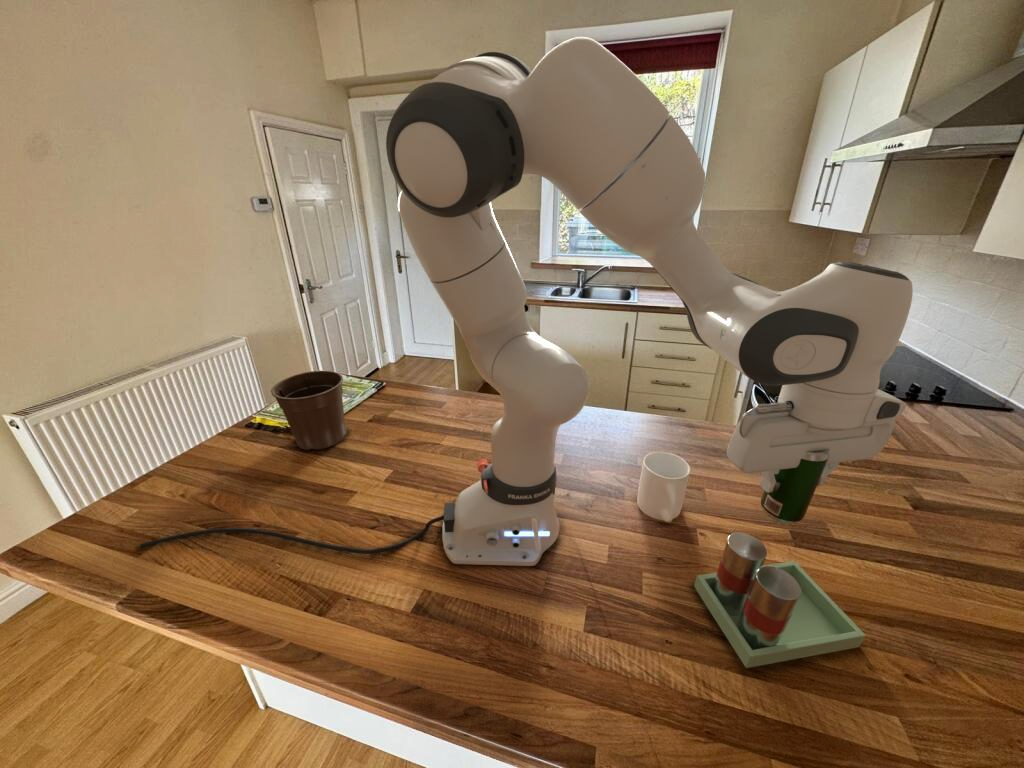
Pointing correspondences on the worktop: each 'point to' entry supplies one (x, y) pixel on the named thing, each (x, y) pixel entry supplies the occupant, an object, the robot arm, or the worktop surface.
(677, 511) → the mug
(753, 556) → the silver can left
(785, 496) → the beer can
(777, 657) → the can tray
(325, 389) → the plant pot
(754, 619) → the silver can right
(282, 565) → the worktop surface
